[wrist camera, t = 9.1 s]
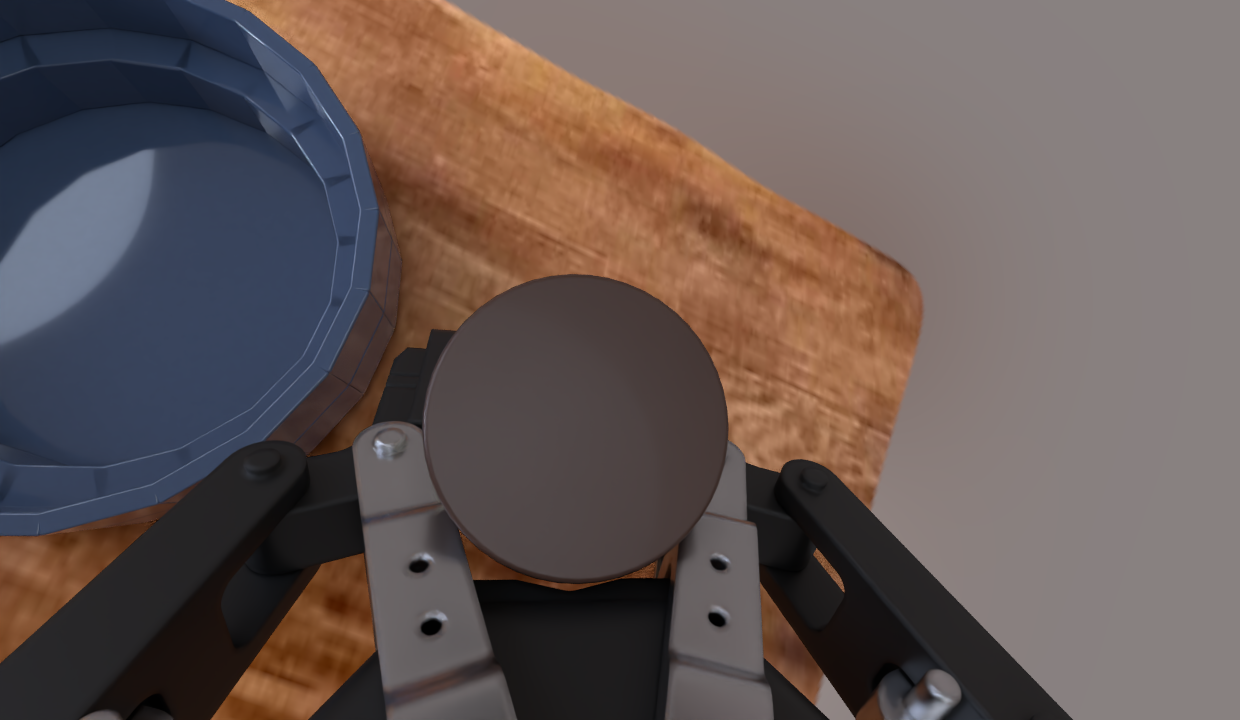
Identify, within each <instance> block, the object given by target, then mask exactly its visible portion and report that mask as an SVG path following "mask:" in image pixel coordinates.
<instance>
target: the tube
mask: <svg viewBox="0 0 1240 720" xmlns="http://www.w3.org/2000/svg"><path fill="white" fill-rule="evenodd" d="M422 438H423V447H424V456H425V460H426V464H427V468H428V472H429V476H430V479H431V481H432V484H433V486H434V489H435V491H436V493H437V496H438V498H439V500H440V502H441V503H442V505H443V507H444V508H445V510H446V512H447V514H448V515H449V517H450V518H451V519H452V521H453V522H454V523H455V524H456V526H457V527H458V528H459V530H460V531H461V532H462V533H463V534H464V535H465V536H466V537H467V538H468V539H469V540H470V541H471V542H472V543H473V544H474V545H475V546H476V547H477V548H478V549H480V550H481V551H482V552H484V553H485V554H487V555H488V556H489V557H491V558H492V559H494V560H495V561H496V562H498V563H500V564H502V565H504V566H506V567H508V568H510V569H512V570H514V571H516V572H519V573H521V574H524V575H527V576H530V577H533V578H536V579H541V580H546V581H551V582H556V583H570V584H583V583H595V582H602V581H607V580H611V579H615V578H620V577H622V576H625V575H628V574H630V573H633V572H636V571H638V570H640V569H642V568H644V567H646V566H648V565H650V564H651V563H653V562H655V561H657V560H658V559H660V558H661V557H662V556H664V555H665V554H667V553H668V552H669V551H671V550H672V549H673V548H674V547H675V546H676V545H678V544H679V543H680V542H681V541H682V540H683V539H684V538H685V537H686V536H687V535H688V534H689V533H690V531H691V530H692V529H693V528H694V526H695V525H696V524H697V523H698V521H699V520H700V519H701V517H702V516H703V514H704V512H705V511H706V509H707V507H708V506H709V504H710V502H711V500H712V498H713V496H714V494H715V491H716V489H717V487H718V485H719V481H720V478H721V475H722V472H723V468H724V464H725V459H726V453H727V447H728V415H727V406H726V401H725V396H724V391H723V387H722V384H721V381H720V378H719V375H718V372H717V370H716V368H715V366H714V363H713V361H712V359H711V357H710V355H709V353H708V352H707V350H706V348H705V347H704V345H703V344H702V342H701V340H700V339H699V338H698V336H697V335H696V334H695V333H694V331H693V330H692V329H691V328H690V326H689V325H688V324H687V323H686V322H685V321H684V320H683V319H682V318H681V317H680V316H679V315H678V314H677V313H676V312H675V311H673V310H672V309H671V308H669V307H668V306H667V305H665V304H664V303H663V302H661V301H660V300H659V299H657V298H655V297H653V296H652V295H650V294H648V293H647V292H645V291H643V290H641V289H638V288H636V287H634V286H631V285H629V284H627V283H624V282H620V281H617V280H613V279H610V278H605V277H599V276H593V275H578V274H567V275H557V276H549V277H544V278H540V279H535V280H531V281H529V282H526V283H523V284H520V285H518V286H515V287H513V288H511V289H509V290H507V291H505V292H503V293H501V294H499V295H497V296H495V297H494V298H493V299H491V300H490V301H488V302H487V303H485V304H484V305H483V306H481V307H480V308H479V309H478V310H476V311H475V312H474V313H473V314H472V315H471V316H470V317H469V318H468V319H467V320H465V322H464V323H463V324H462V325H461V326H460V328H459V329H458V330H457V331H456V332H455V333H454V335H453V336H452V337H451V339H450V340H449V342H448V344H447V345H446V347H445V348H444V350H443V351H442V353H441V355H440V357H439V359H438V361H437V364H436V366H435V368H434V370H433V372H432V375H431V378H430V382H429V385H428V388H427V392H426V397H425V403H424V409H423V422H422Z"/></svg>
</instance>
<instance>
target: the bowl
mask: <svg viewBox="0 0 1240 720" xmlns="http://www.w3.org/2000/svg"><path fill="white" fill-rule="evenodd" d="M401 269H402V258H401V254H400V250H399V246H398V242H397V238H396V234H395V230H394V226H393V222H392V218H391V214H390V210H389V206H388V202H387V199H386V196H385V194H384V191H383V189H382V186H381V183H380V181H379V178H378V176H377V173H376V171H375V168H374V166H373V163H372V161H371V158H370V156H369V153H368V151H367V148H366V146H365V143H364V141H363V138H362V136H361V133H360V131H359V129H358V128H357V126H356V125H355V123H354V122H353V120H352V119H351V117H350V116H349V114H348V113H347V111H346V110H345V108H344V107H343V105H342V104H341V102H340V101H339V99H338V98H337V96H336V95H335V93H334V92H333V90H332V89H331V87H330V86H329V84H328V83H327V81H326V80H325V78H324V76H323V75H322V73H321V72H320V70H319V69H318V67H317V66H316V65H315V64H314V63H313V62H312V61H310V60H309V59H308V58H307V57H305V56H304V55H303V54H302V53H300V52H299V51H298V50H297V49H296V48H294V47H293V46H292V45H291V44H289V43H288V42H287V41H286V40H284V39H283V38H282V37H281V36H279V35H278V34H277V33H276V32H274V31H273V30H272V29H271V28H270V27H268V26H267V25H266V24H265V23H263V22H262V21H261V20H260V19H258V18H257V17H256V16H255V15H253V14H252V13H251V12H250V11H247V10H246V9H244V8H242V7H239V6H237V5H235V4H232V3H230V2H228V1H225V0H0V536H44V535H52V534H59V533H67V532H75V531H83V530H91V529H99V528H107V527H115V526H122V525H130V524H138V523H144V522H149V521H153V520H157V519H160V518H161V517H162V516H163V515H165V514H166V513H167V512H168V511H169V510H170V509H171V508H172V507H173V506H174V505H176V504H177V503H178V502H179V501H180V500H181V499H182V498H183V497H184V496H185V495H187V494H188V493H189V492H190V491H191V490H192V489H193V488H194V487H195V486H196V485H198V484H199V483H200V482H201V481H202V480H203V479H204V478H205V477H206V476H207V475H209V474H210V473H211V472H212V471H213V470H214V469H215V468H216V467H217V466H218V465H220V464H221V463H222V462H223V461H224V460H225V459H226V458H227V457H228V456H230V455H231V454H232V453H234V452H235V451H237V450H239V449H241V448H243V447H245V446H248V445H250V444H253V443H257V442H262V441H270V440H280V441H287V442H291V443H294V444H296V445H298V446H299V447H300V448H302V449H303V451H304V452H305V454H306V455H308V454H309V452H311V451H312V450H313V449H314V448H315V447H316V446H317V445H318V444H319V443H320V442H321V441H322V440H323V439H324V437H325V436H326V435H327V434H328V433H329V432H330V431H331V430H332V429H333V428H334V427H335V426H336V425H337V423H338V422H339V421H340V420H341V419H342V418H343V417H344V416H345V415H346V414H347V413H348V412H349V411H350V409H351V408H352V407H353V406H354V405H355V404H356V403H357V402H358V401H359V400H360V399H361V398H362V397H363V395H364V394H363V393H365V392H366V389H367V387H368V385H369V383H370V381H371V379H372V377H373V374H374V372H375V370H376V368H377V366H378V364H379V362H380V360H381V357H382V355H383V353H384V351H385V349H386V347H387V345H388V343H389V340H390V338H391V336H392V334H393V332H394V328H395V327H396V317H397V308H398V298H399V288H400V279H401Z"/></svg>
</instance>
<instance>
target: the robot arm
mask: <svg viewBox="0 0 1240 720" xmlns="http://www.w3.org/2000/svg"><path fill="white" fill-rule="evenodd" d="M455 332H456V331H452V330H438V329H432V330H431V333H430V337H429V340H428V344H427V348H426V349H422V348H406V349H405V350H404V351H403V352H402V353H401V354H400V355H398V356H397V357H396V358H395V359H394V362H393V364H392V367H391V370H390V375H389V376H388V379H387V382H386V387H385V388H384V391H383V394H382V397H381V400H380V403H379V406H378V409H377V412H376V415H375V418H374V421H373V424H372V426H370V427H368V428H366V429H364V430H363V431H362V432H360V433H359V434H358V436H357V437H356V438H355V440H354V442H353V446H351V447H349V448H346V449H344V450H341V451H338V452H333V453H329V454H323V455H318V456H312V457H306V454H305V452H304V451H303V449H302V448H300V447H299V446H298V445H296V444H294V443H291V442H287V441H280V440H270V441H262V442H257V443H253V444H250V445H248V446H245V447H243V448H241V449H239V450H237V451H235V452H234V453H232V454H231V455H230V456H228V457H227V458H226V459H225V460H224V461H223V462H222V463H221V464H220V465H218V466H217V467H216V468H215V469H214V470H213V471H212V472H211V473H210V474H209V475H207V476H206V477H205V478H204V479H203V480H202V481H201V482H200V483H199V484H198V485H196V486H195V487H194V488H193V489H192V490H191V491H190V492H189V493H188V494H187V495H185V496H184V497H183V498H182V499H181V500H180V501H179V502H178V503H177V504H176V505H174V506H173V507H172V508H171V509H170V510H169V511H168V512H167V513H166V514H165V515H163V516H162V517H161V518H160V519H159V520H158V521H157V522H156V523H155V524H153V525H152V526H151V527H150V528H149V529H148V530H147V531H146V532H145V533H144V534H142V535H141V536H140V537H139V538H138V539H137V540H136V541H135V542H134V543H133V544H131V545H130V546H129V547H128V548H127V549H126V550H125V551H124V552H123V553H122V554H120V555H119V556H118V557H117V558H116V559H115V560H114V561H113V562H112V563H111V564H109V565H108V566H107V567H106V568H105V569H104V570H103V571H102V572H101V573H100V574H98V575H97V576H96V577H95V578H94V579H93V580H92V581H91V582H90V583H89V584H87V585H86V586H85V587H84V588H83V589H82V590H81V591H80V592H79V593H77V594H76V595H75V596H74V597H73V598H72V599H71V600H70V601H69V602H68V603H66V604H65V605H64V606H63V607H62V608H61V609H60V610H59V611H58V612H57V613H55V614H54V615H53V616H52V617H51V618H50V619H49V620H48V621H47V622H46V623H44V624H43V625H42V626H41V627H40V628H39V629H38V630H37V631H36V632H35V633H33V634H32V635H31V636H30V637H29V638H28V639H27V640H26V641H25V642H24V643H22V644H21V645H20V646H19V647H18V648H17V649H16V650H15V651H14V652H13V653H11V654H10V655H9V656H8V657H7V658H6V659H5V660H4V661H3V662H1V663H0V720H211V718H212V717H213V715H214V714H215V713H216V711H217V710H218V708H219V707H220V706H221V704H222V703H223V701H224V700H225V699H226V697H227V696H228V695H229V693H230V692H231V690H232V689H233V688H234V686H235V685H236V683H237V682H238V681H239V679H240V678H241V676H242V675H243V674H244V672H245V671H246V669H247V668H248V667H249V665H250V664H251V663H252V661H253V660H254V658H255V657H256V656H257V654H258V653H259V651H260V650H261V649H262V647H263V646H264V644H265V643H266V642H267V640H268V639H269V638H270V636H271V635H272V633H273V632H274V631H275V629H276V628H277V626H278V625H279V624H280V622H281V621H282V619H283V618H284V617H285V615H286V614H287V612H288V611H289V610H290V608H291V607H292V606H293V604H294V603H295V601H296V600H297V599H298V597H299V596H300V594H301V593H302V592H303V590H304V589H305V587H306V586H307V585H308V583H309V582H310V580H311V579H312V578H313V576H314V575H315V574H316V572H317V571H318V569H319V567H320V565H321V564H323V563H327V562H330V561H334V560H338V559H342V558H346V557H349V556H353V555H357V554H361V553H364V559H365V567H366V575H367V584H368V592H369V600H370V608H371V616H372V625H373V633H374V642H375V652H374V653H373V654H372V655H371V656H370V657H369V658H368V659H367V660H366V661H365V663H364V664H363V665H362V666H361V667H360V668H359V669H358V670H357V671H356V672H355V673H354V674H353V675H352V676H351V677H350V678H349V679H348V680H347V681H346V682H345V683H344V684H343V685H342V686H341V687H340V688H339V689H338V690H337V691H336V692H335V693H334V694H333V695H332V696H331V697H330V698H329V699H328V700H327V701H326V702H325V703H324V704H323V705H322V706H321V707H320V708H319V709H318V710H317V711H316V712H315V713H314V714H313V715H312V716H311V717H310V718H309V719H308V720H829V719H828V718H827V717H826V716H825V715H824V714H823V713H822V712H821V711H820V710H819V709H818V708H817V707H816V706H815V705H813V704H812V703H811V702H810V701H809V700H808V699H807V698H806V697H805V696H804V695H803V694H802V693H801V692H800V691H799V690H798V689H797V688H795V687H794V686H793V685H792V684H791V683H790V682H789V681H788V680H787V679H786V678H785V677H784V676H783V675H782V674H781V673H780V672H778V671H777V670H776V669H775V668H774V667H773V666H772V665H771V664H770V663H769V662H768V661H767V660H766V659H765V658H764V657H763V640H762V619H761V599H760V583H761V584H762V585H763V587H764V588H765V590H766V591H767V593H768V594H769V595H770V597H771V598H772V600H773V601H774V603H775V604H776V605H777V607H778V608H779V610H780V611H781V613H782V614H783V615H784V617H785V618H786V620H787V621H788V623H789V624H790V625H791V627H792V628H793V630H794V631H795V633H796V634H797V635H798V637H799V638H800V640H801V641H802V643H803V644H804V645H805V647H806V648H807V650H808V651H809V653H810V654H811V656H812V657H813V658H814V660H815V661H816V663H817V664H818V666H819V667H820V668H821V670H822V671H823V673H824V674H825V676H826V677H827V678H828V680H829V681H830V683H831V684H832V685H833V687H834V688H835V690H836V691H837V693H838V694H839V695H840V697H841V698H842V700H843V701H844V703H845V704H846V706H847V707H848V708H849V710H850V711H851V713H852V714H853V715H854V717H855V718H856V720H1073V719H1072V718H1071V717H1070V716H1069V715H1068V714H1067V713H1066V712H1065V711H1064V710H1063V709H1062V708H1061V707H1060V706H1059V705H1058V704H1057V703H1056V702H1055V701H1054V700H1053V699H1052V698H1051V697H1050V696H1049V695H1048V694H1047V693H1046V692H1045V691H1044V689H1043V688H1042V687H1041V686H1039V684H1038V683H1037V682H1036V681H1035V680H1034V679H1033V678H1032V677H1031V676H1030V675H1029V674H1028V673H1027V672H1026V671H1025V670H1024V669H1023V668H1022V667H1021V666H1020V665H1019V664H1018V663H1017V662H1016V661H1015V660H1014V659H1013V658H1012V657H1011V656H1010V654H1009V653H1008V652H1007V651H1006V650H1005V649H1004V648H1003V647H1002V646H1001V645H1000V644H999V643H998V642H997V641H996V640H995V639H994V638H993V637H992V636H991V635H990V634H989V633H988V632H987V631H986V630H985V629H984V628H983V627H982V626H981V625H980V624H979V623H978V622H977V620H976V619H975V618H974V617H973V616H971V614H970V613H969V612H968V611H967V610H966V609H965V608H964V607H963V606H962V605H961V604H960V603H959V602H958V601H957V600H956V599H955V598H954V597H953V596H952V595H951V594H950V593H949V592H948V591H947V590H946V589H945V588H944V586H942V585H941V583H940V582H939V581H938V580H937V579H936V578H935V577H934V576H933V575H932V574H931V573H930V572H929V571H928V570H927V569H926V568H925V567H924V566H923V565H922V564H921V563H920V562H919V561H918V560H917V559H916V558H915V557H914V556H913V555H912V554H911V553H910V551H909V550H908V549H907V548H905V546H904V545H903V544H902V543H901V542H900V541H899V540H898V539H897V538H896V537H895V536H894V535H893V534H892V533H891V532H890V531H889V530H888V529H887V528H886V527H885V526H884V525H883V524H882V523H881V522H880V521H879V520H878V519H877V517H875V515H874V514H873V513H872V512H871V511H870V510H869V509H868V508H867V507H866V506H865V505H864V504H863V503H862V502H861V501H860V500H859V499H858V498H857V497H856V496H855V495H854V494H853V493H852V492H851V491H850V490H849V489H848V488H847V487H846V486H845V485H844V483H843V482H842V481H841V480H840V479H839V478H838V477H837V476H836V475H835V474H834V473H832V472H831V471H830V470H829V469H827V468H825V467H824V466H822V465H820V464H818V463H815V462H812V461H808V460H802V459H797V460H791V461H789V462H787V463H786V464H785V465H784V466H783V468H782V470H781V472H780V473H778V472H775V471H771V470H767V469H764V468H760V467H756V466H753V465H751V464H748V463H746V462H745V457H744V455H743V453H742V452H741V450H740V449H739V448H738V447H737V446H736V445H735V444H733V443H732V442H730V441H729V440H728V447H727V453H726V459H725V464H724V468H723V472H722V475H721V478H720V481H719V485H718V487H717V489H716V491H715V494H714V496H713V498H712V500H711V502H710V504H709V506H708V507H707V509H706V511H705V512H704V514H703V516H702V517H701V519H700V520H699V521H698V523H697V524H696V525H695V526H694V528H693V529H692V530H691V531H690V533H689V534H688V535H687V536H686V537H685V538H684V539H683V540H682V541H681V542H680V543H679V544H678V545H676V546H675V547H674V548H673V549H672V550H671V551H669V552H668V553H667V554H665V555H664V556H662V557H661V558H660V559H658V560H657V561H655V567H654V574H653V578H624V579H618V580H614V581H610V582H606V583H602V584H598V585H594V586H590V587H587V588H583V589H579V590H575V591H565V590H560V589H556V588H551V587H546V586H542V585H537V584H533V583H528V582H524V581H519V580H473V579H472V576H471V572H470V569H469V565H468V562H467V558H466V554H465V551H464V547H463V544H462V540H461V537H460V533H459V530H458V527H457V526H456V524H455V523H454V522H453V521H452V519H451V518H450V517H449V515H448V514H447V512H446V510H445V508H444V507H443V505H442V503H441V502H440V500H439V498H438V496H437V493H436V491H435V489H434V486H433V484H432V481H431V479H430V476H429V472H428V468H427V464H426V460H425V456H424V447H423V438H422V422H423V409H424V403H425V397H426V392H427V388H428V385H429V382H430V378H431V375H432V372H433V370H434V368H435V366H436V364H437V361H438V359H439V357H440V355H441V353H442V351H443V350H444V348H445V347H446V345H447V344H448V342H449V340H450V339H451V337H452V336H453V335H454V333H455ZM816 548H817V549H818V550H819V551H820V552H821V553H822V555H823V556H824V557H825V558H826V559H827V561H828V562H829V563H830V564H831V565H832V567H833V568H834V569H835V570H836V571H837V573H838V574H839V576H840V577H841V579H842V582H843V585H844V590H845V593H844V592H843V591H842V590H841V589H840V587H839V586H838V585H837V584H836V582H835V581H834V580H833V579H832V578H831V576H830V575H829V574H828V573H827V571H826V570H825V569H824V568H823V566H822V565H821V564H820V563H819V562H818V560H817V559H816V558H815V557H814V555H813V553H814V552H815V550H816Z"/></svg>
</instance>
